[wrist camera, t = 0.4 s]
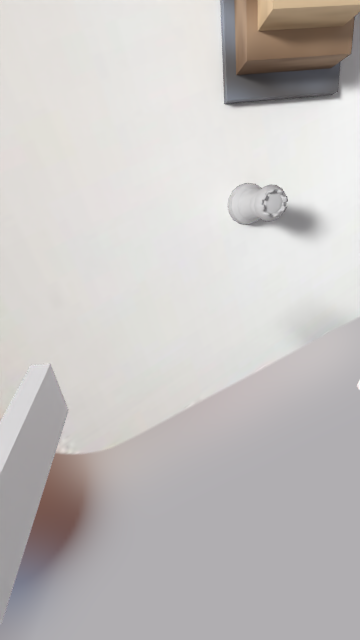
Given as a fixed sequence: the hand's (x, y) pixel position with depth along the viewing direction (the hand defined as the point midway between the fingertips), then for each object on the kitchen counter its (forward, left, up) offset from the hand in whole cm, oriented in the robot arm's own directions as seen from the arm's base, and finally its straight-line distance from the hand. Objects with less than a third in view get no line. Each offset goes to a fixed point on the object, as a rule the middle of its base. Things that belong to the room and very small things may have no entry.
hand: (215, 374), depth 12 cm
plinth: (-24, +14, -25) cm, 38 cm away
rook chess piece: (-6, +10, -25) cm, 28 cm away
